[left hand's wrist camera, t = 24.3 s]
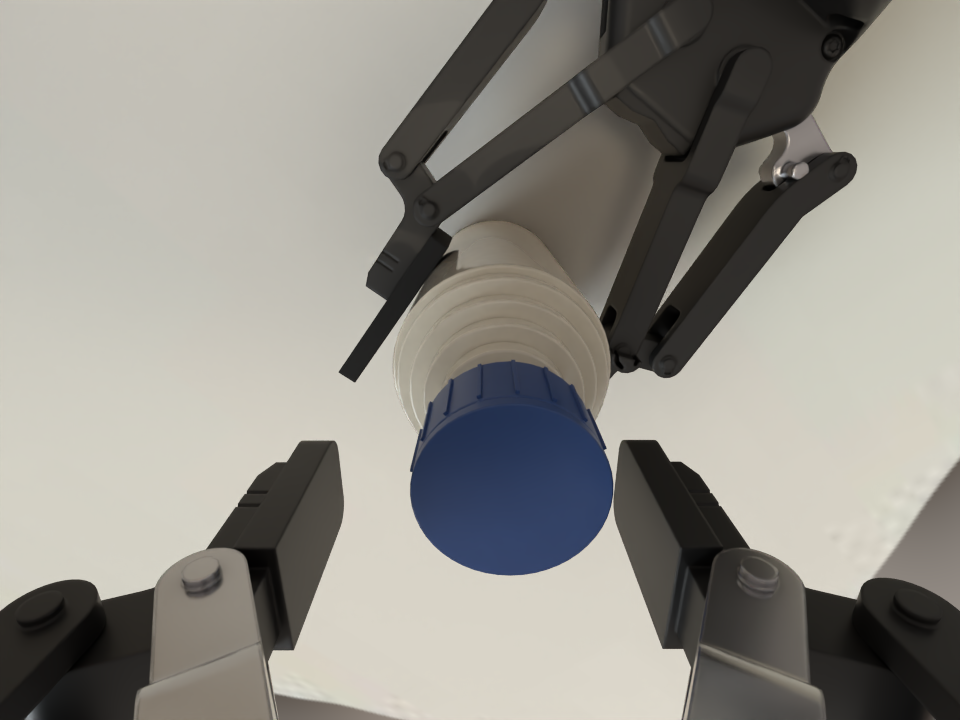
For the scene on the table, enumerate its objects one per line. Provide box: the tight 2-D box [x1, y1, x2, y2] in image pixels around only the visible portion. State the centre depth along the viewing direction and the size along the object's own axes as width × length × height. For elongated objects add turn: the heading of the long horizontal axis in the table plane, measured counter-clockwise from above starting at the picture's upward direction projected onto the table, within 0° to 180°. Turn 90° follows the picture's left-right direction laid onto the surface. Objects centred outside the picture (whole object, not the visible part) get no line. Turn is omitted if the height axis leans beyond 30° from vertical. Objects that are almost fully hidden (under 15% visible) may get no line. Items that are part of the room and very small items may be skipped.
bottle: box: [393, 220, 611, 434], centre depth 18 cm, size 6×6×18 cm
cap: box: [410, 360, 613, 575], centre depth 11 cm, size 4×4×2 cm
